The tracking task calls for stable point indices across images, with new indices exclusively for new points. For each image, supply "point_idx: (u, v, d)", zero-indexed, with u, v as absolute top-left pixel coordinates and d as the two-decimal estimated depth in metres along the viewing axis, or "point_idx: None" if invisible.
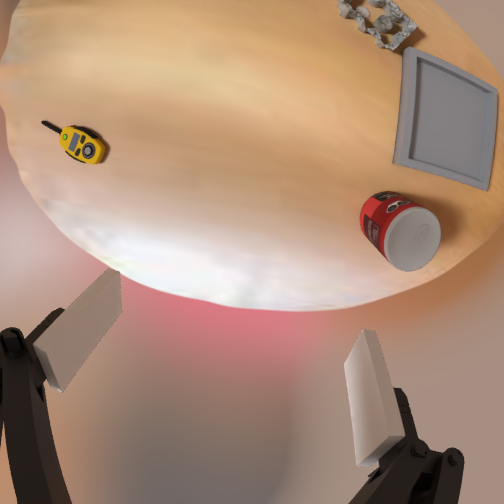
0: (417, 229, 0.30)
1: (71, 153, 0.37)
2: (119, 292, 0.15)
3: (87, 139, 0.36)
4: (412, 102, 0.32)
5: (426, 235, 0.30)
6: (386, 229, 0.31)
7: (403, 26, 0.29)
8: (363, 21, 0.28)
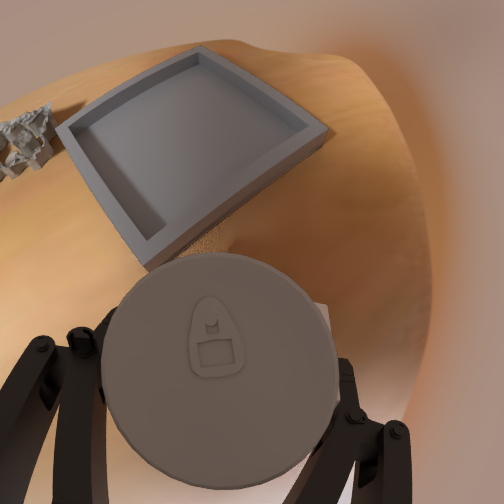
0: (191, 342, 0.09)
1: None
2: None
3: None
4: (92, 172, 0.20)
5: (235, 324, 0.09)
6: None
7: None
8: None
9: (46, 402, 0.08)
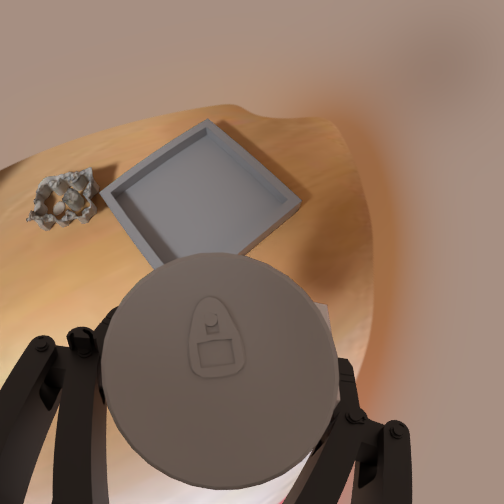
0: (191, 342, 0.09)
1: None
2: None
3: None
4: (137, 234, 0.32)
5: (235, 325, 0.09)
6: None
7: None
8: (52, 217, 0.32)
9: (46, 402, 0.08)
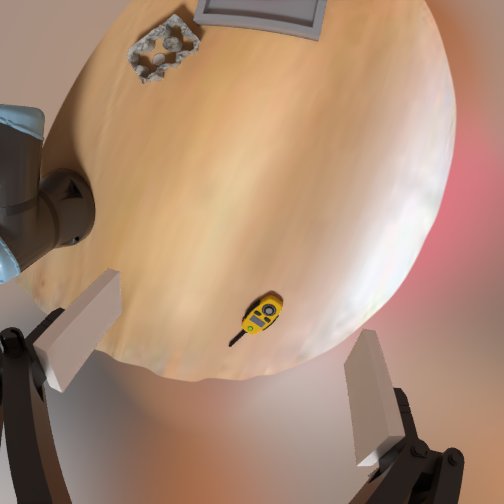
0: None
1: (266, 325, 0.52)
2: (119, 292, 0.15)
3: (259, 309, 0.51)
4: (253, 19, 0.31)
5: None
6: None
7: (176, 24, 0.33)
8: (168, 64, 0.34)
9: None
